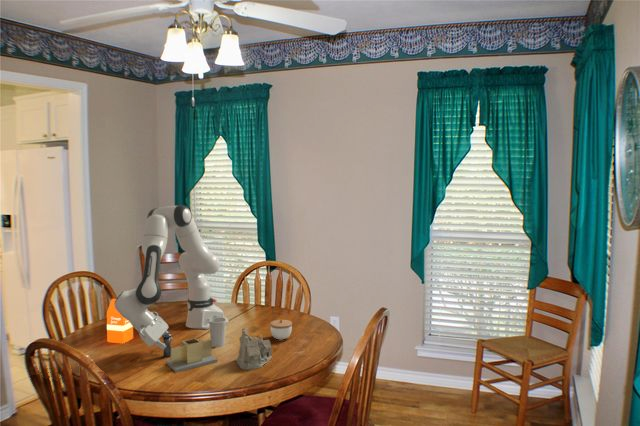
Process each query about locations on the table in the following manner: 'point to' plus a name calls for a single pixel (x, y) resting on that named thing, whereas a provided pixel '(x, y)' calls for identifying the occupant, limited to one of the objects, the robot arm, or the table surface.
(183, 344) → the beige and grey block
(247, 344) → the ceramic cottage
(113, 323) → the orange juice
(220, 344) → the cup
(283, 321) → the lidded jar
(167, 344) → the hinge pin
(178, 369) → the board
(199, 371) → the table surface
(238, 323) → the table surface
